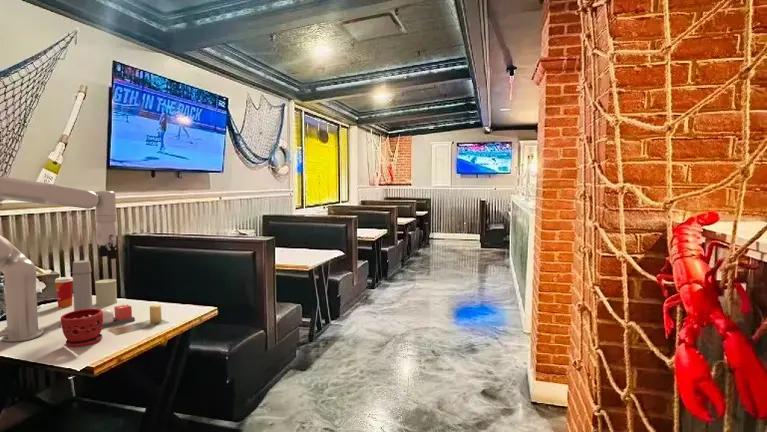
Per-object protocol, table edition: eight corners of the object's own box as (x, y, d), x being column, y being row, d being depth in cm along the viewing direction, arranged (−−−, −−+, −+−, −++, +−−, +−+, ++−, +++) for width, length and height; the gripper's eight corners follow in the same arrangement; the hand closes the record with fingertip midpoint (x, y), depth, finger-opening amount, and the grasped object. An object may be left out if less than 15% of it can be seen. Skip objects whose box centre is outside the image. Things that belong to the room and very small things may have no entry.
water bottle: (92, 315, 203) (90, 262, 201) (71, 317, 199) (69, 263, 198) (95, 310, 211) (93, 259, 209) (75, 312, 208) (73, 260, 206)
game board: (116, 336, 175) (116, 335, 175) (107, 331, 181) (106, 329, 181) (169, 323, 192) (169, 322, 191) (159, 319, 198) (159, 318, 198)
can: (121, 301, 227) (120, 278, 227) (105, 306, 219) (104, 282, 218) (107, 300, 230) (106, 277, 229) (91, 304, 221) (90, 281, 220)
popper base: (99, 330, 183) (98, 313, 182) (92, 326, 188) (91, 310, 187) (134, 322, 194) (134, 306, 193) (127, 318, 198) (127, 303, 198)
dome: (101, 328, 184) (100, 312, 184) (96, 325, 188) (95, 309, 187) (116, 324, 189) (115, 309, 188) (110, 322, 192) (110, 307, 192)
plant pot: (71, 339, 172) (70, 309, 171) (109, 336, 175) (108, 307, 174) (55, 351, 159) (53, 319, 159) (95, 348, 162) (94, 316, 162)
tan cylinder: (153, 324, 189) (152, 308, 188) (148, 322, 192) (147, 306, 191) (163, 321, 192) (162, 306, 192) (158, 319, 195) (158, 304, 194)
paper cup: (59, 304, 221) (58, 277, 220) (77, 303, 224) (75, 276, 223) (52, 308, 214) (51, 280, 213) (71, 307, 216) (70, 279, 215)
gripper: (89, 218, 195) (90, 256, 196) (104, 220, 184) (105, 261, 185) (108, 217, 201) (109, 254, 202) (123, 219, 190) (125, 258, 191)
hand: (107, 257), depth 194 cm, fingers open, 9 cm apart
